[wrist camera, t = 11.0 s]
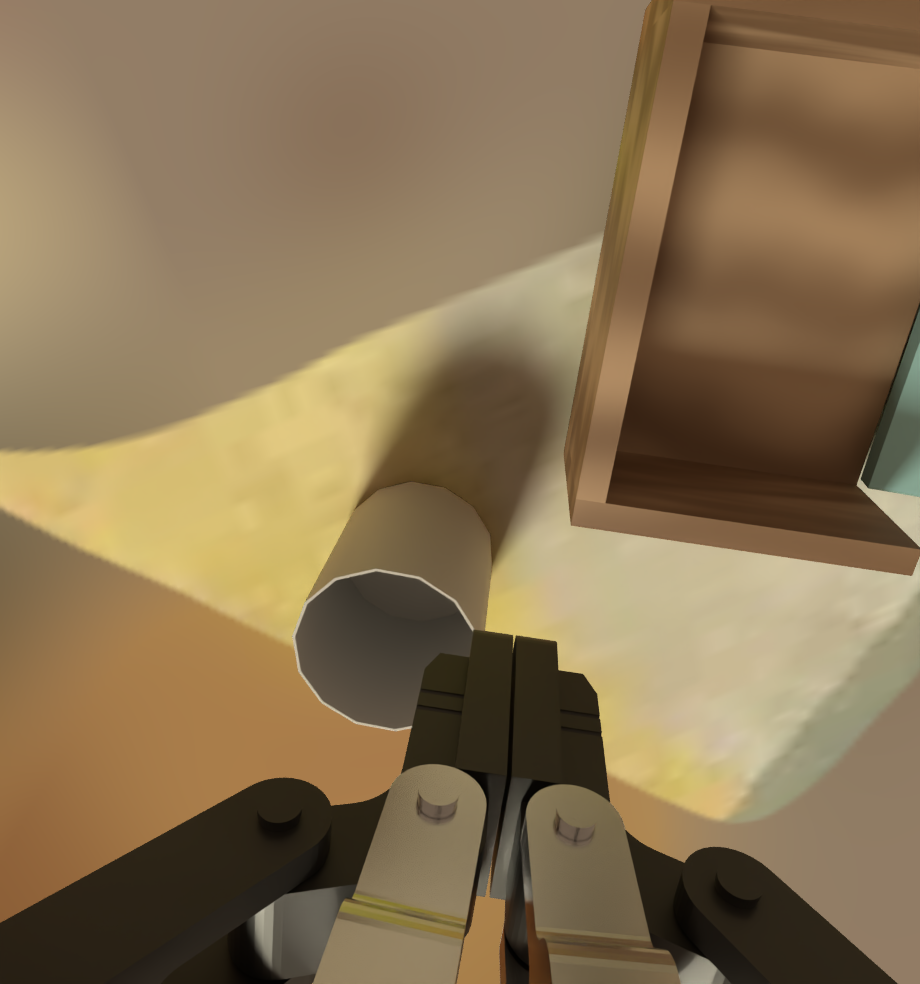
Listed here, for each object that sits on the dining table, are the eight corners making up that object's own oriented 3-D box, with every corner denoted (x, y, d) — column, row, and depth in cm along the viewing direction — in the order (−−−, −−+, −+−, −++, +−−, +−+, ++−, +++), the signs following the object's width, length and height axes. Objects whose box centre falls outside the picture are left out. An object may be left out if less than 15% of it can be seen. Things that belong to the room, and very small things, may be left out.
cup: (469, 466, 42) (450, 551, 32) (510, 598, 44) (503, 711, 35) (322, 503, 43) (264, 594, 34) (371, 628, 46) (329, 743, 37)
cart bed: (645, 9, 33) (682, -44, 25) (981, 51, 32) (1134, 11, 24) (563, 452, 41) (570, 525, 32) (834, 492, 40) (911, 575, 32)
